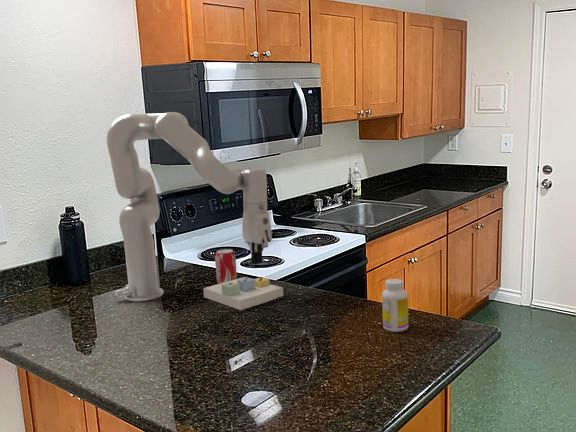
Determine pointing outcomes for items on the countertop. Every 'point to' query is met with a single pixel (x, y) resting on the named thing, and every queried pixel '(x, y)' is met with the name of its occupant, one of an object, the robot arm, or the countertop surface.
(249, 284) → the tile two pip
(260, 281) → the tile three pip
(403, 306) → the supplement bottle
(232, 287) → the tile one pip
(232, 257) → the soda can
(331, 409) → the countertop surface
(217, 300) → the keypad board
